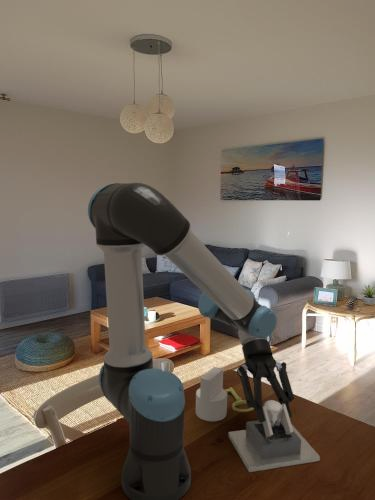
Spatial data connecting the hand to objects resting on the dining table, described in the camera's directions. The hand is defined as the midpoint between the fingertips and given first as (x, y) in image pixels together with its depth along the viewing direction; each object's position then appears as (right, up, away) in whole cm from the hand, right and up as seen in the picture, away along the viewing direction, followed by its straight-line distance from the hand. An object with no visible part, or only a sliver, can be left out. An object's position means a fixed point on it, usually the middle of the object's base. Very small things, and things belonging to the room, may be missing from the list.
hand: (279, 434), depth 95 cm
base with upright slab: (-15, -3, +20) cm, 26 cm away
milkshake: (-1, -3, +4) cm, 5 cm away
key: (-6, -3, +27) cm, 28 cm away
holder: (-1, -5, +4) cm, 7 cm away
